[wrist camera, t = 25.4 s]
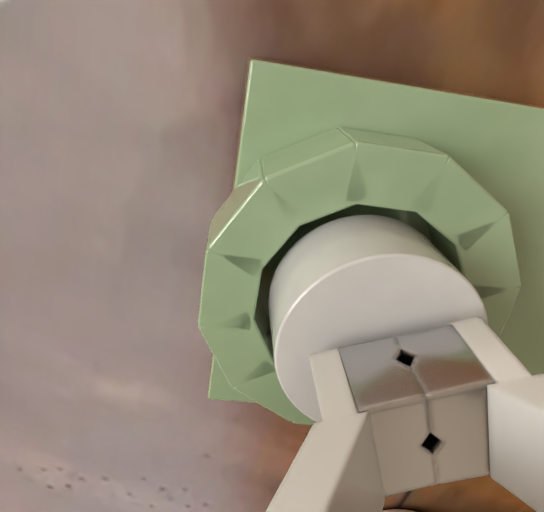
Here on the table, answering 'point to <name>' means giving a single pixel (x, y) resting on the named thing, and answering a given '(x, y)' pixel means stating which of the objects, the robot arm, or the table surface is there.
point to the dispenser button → (358, 295)
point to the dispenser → (371, 203)
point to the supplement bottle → (397, 510)
